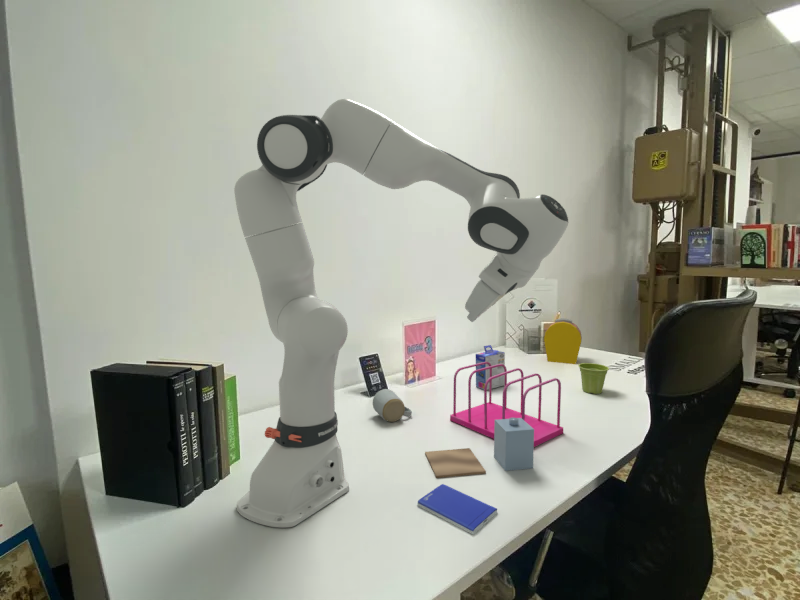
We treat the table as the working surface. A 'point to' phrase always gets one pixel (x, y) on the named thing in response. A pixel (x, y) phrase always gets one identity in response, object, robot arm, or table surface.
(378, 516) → the table surface
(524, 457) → the grey block with knob
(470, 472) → the coaster
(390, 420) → the ceramic mug
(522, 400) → the file sorter
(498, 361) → the ink cartridge box
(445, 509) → the hard drive
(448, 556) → the table surface
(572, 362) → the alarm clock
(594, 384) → the plant pot
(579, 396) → the table surface
